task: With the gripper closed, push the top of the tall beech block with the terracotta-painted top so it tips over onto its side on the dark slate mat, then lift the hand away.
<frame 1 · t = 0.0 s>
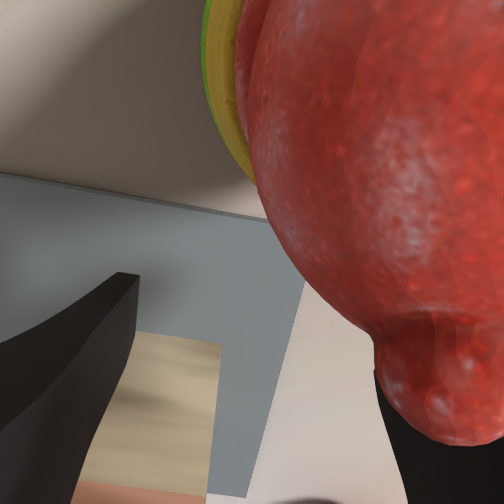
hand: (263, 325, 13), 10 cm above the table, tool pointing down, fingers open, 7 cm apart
slate mat: (103, 355, 26), on the table
stacking bear: (340, 48, 19), on the table
beech block: (172, 372, 26), resting on slate mat
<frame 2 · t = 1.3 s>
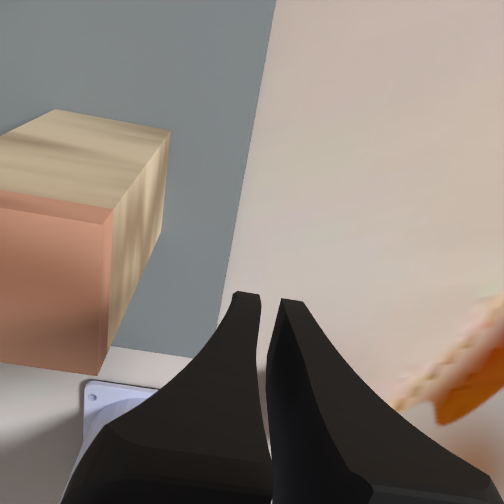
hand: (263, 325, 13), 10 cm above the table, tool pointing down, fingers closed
slate mat: (27, 155, 21), on the table
beech block: (111, 174, 21), point 1 cm above the table, touching slate mat
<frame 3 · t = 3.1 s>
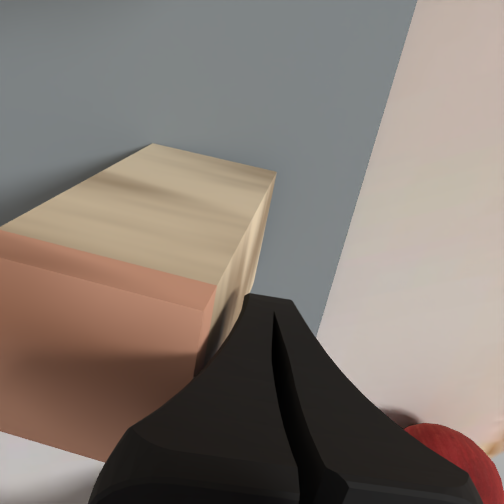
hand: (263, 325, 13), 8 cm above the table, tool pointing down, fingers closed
slate mat: (115, 192, 19), on the table
beech block: (205, 216, 19), point 1 cm above the table, tilted 10°, touching slate mat
onion: (412, 426, 26), on the table
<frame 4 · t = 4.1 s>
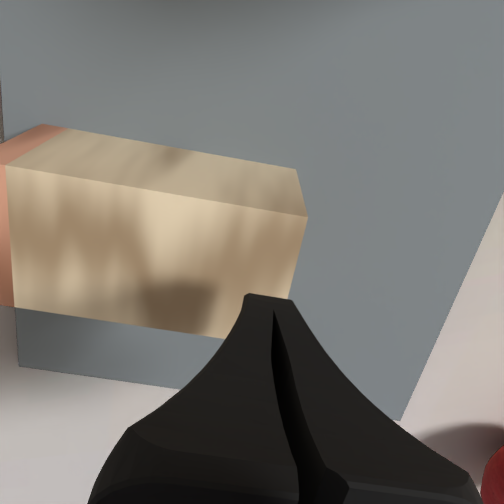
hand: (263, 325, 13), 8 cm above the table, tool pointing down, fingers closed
slate mat: (248, 215, 20), on the table
beech block: (286, 252, 17), point 3 cm above the table, tilted 90°, touching slate mat
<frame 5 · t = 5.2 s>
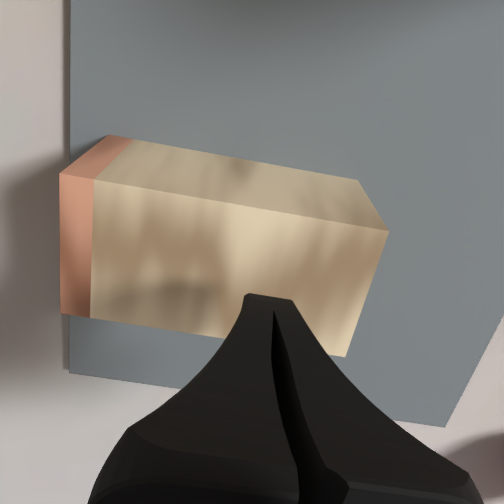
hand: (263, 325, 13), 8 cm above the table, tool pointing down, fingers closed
slate mat: (306, 224, 20), on the table
beech block: (351, 263, 17), point 3 cm above the table, tilted 90°, touching slate mat
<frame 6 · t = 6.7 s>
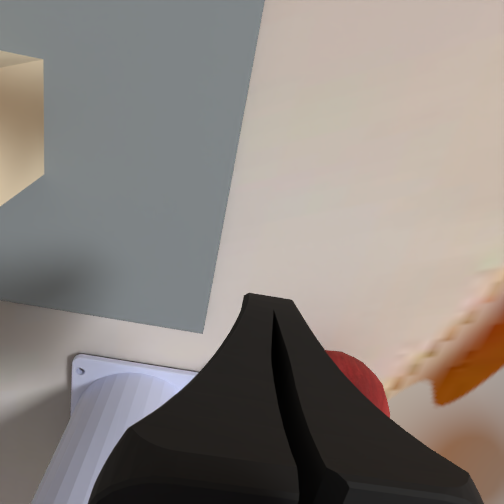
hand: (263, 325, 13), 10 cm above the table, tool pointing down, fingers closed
slate mat: (14, 111, 20), on the table
beech block: (17, 132, 18), point 3 cm above the table, tilted 90°, touching slate mat
onion: (320, 359, 27), on the table
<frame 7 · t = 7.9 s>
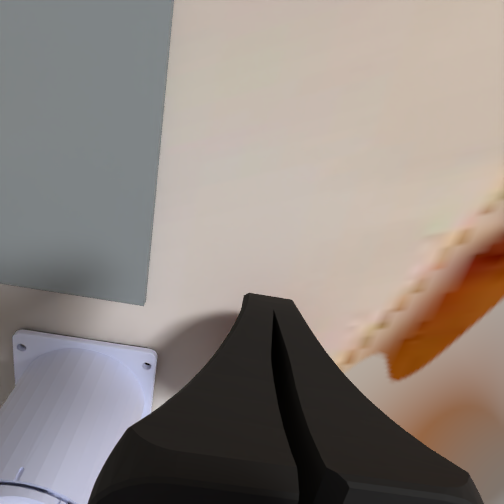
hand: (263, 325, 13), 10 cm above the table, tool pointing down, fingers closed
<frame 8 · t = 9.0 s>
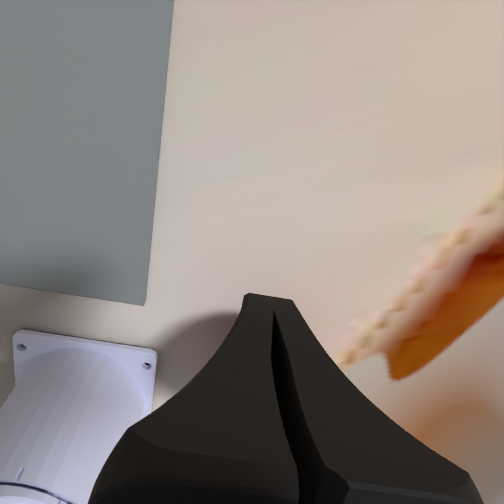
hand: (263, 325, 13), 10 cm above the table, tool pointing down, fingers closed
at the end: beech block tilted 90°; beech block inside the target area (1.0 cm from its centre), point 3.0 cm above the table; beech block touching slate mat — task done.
